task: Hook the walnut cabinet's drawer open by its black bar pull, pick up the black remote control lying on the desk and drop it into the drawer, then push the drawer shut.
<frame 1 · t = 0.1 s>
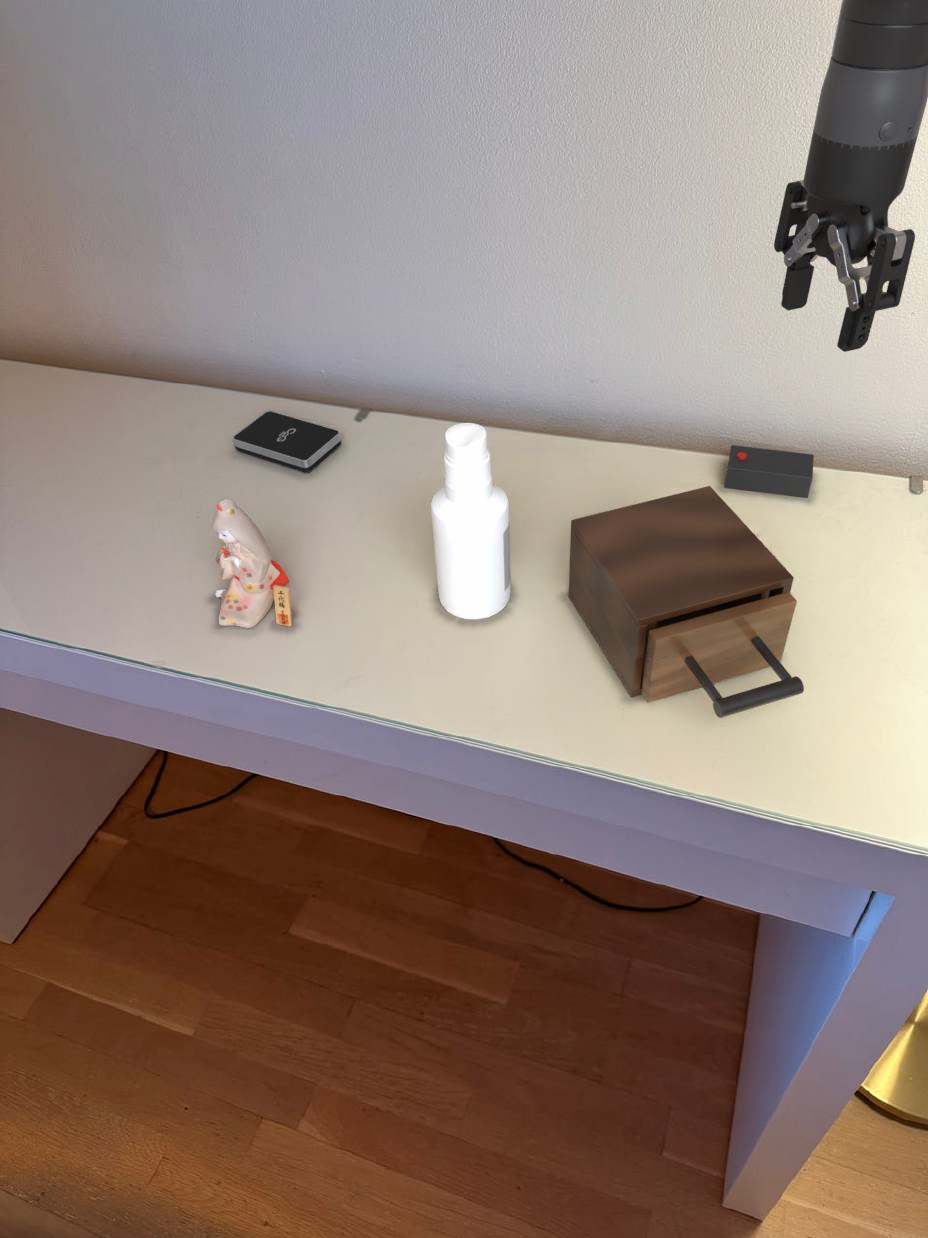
hand: (820, 327, 81), 20 cm above the table, tool pointing down, fingers open, 8 cm apart
remote: (766, 481, 99), on the table
figurine: (256, 610, 89), on the table
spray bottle: (474, 598, 88), on the table
external hard drive: (290, 451, 108), on the table
cabinet: (666, 625, 84), on the table
drawer: (702, 627, 77), point 5 cm above the table, slide at 0.5 cm
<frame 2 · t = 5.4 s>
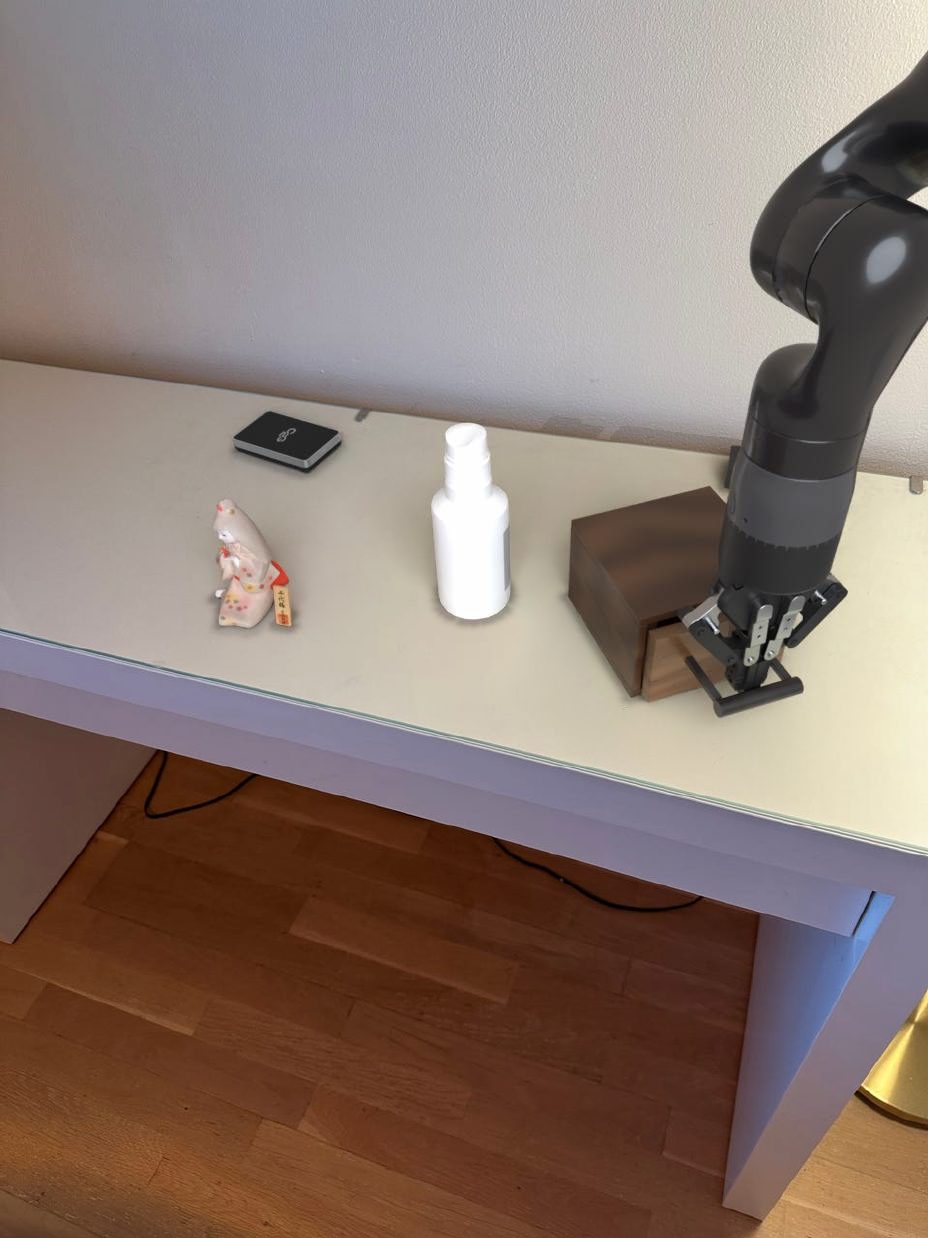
hand: (743, 685, 72), 4 cm above the table, tool pointing down, fingers closed
drawer: (702, 627, 77), point 5 cm above the table, slide at 0.5 cm, touching gripper
everything else where it was.
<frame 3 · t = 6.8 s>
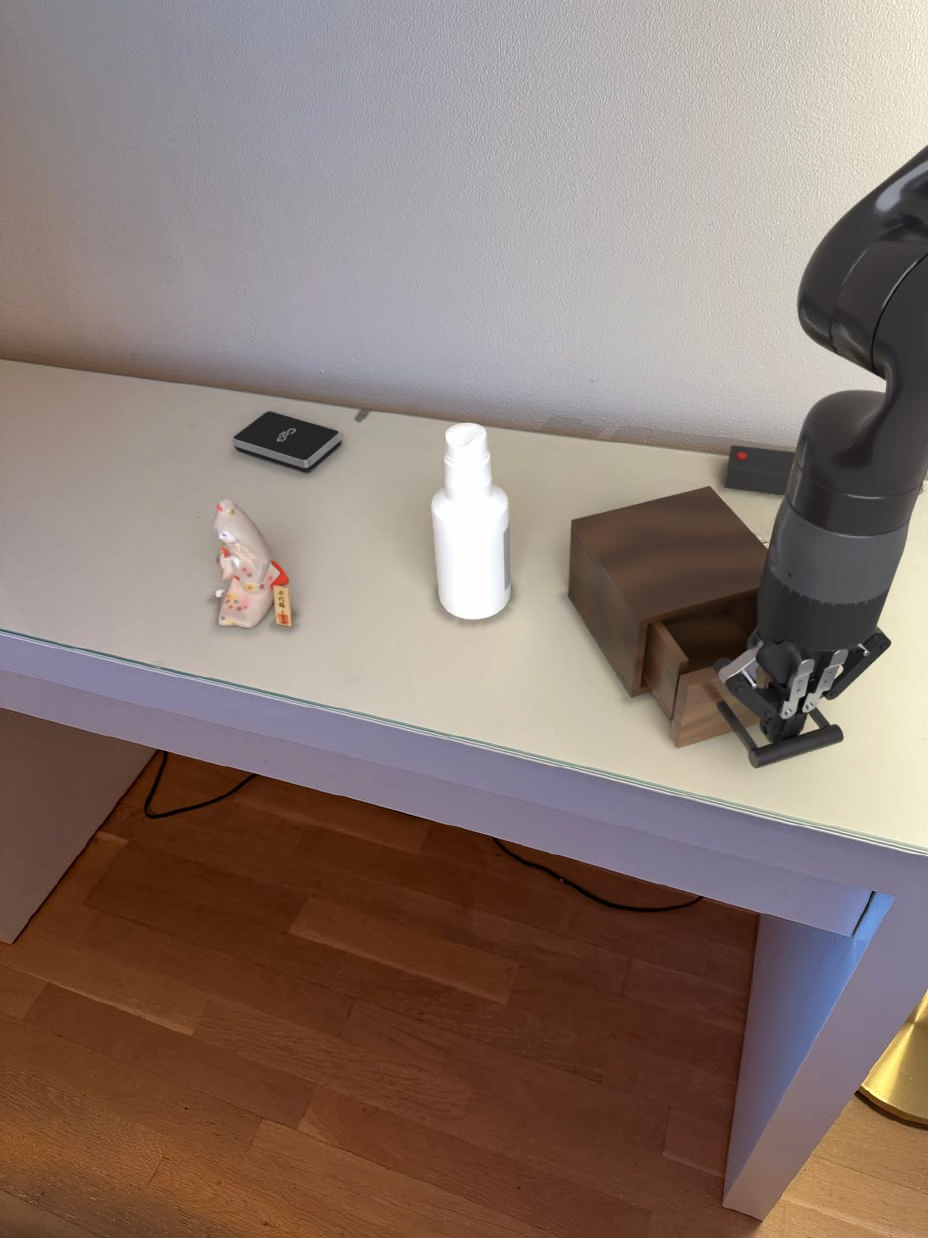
hand: (778, 736, 69), 4 cm above the table, tool pointing down, fingers closed
drawer: (733, 669, 74), point 5 cm above the table, slide at 5.6 cm, touching gripper
everything else where it was.
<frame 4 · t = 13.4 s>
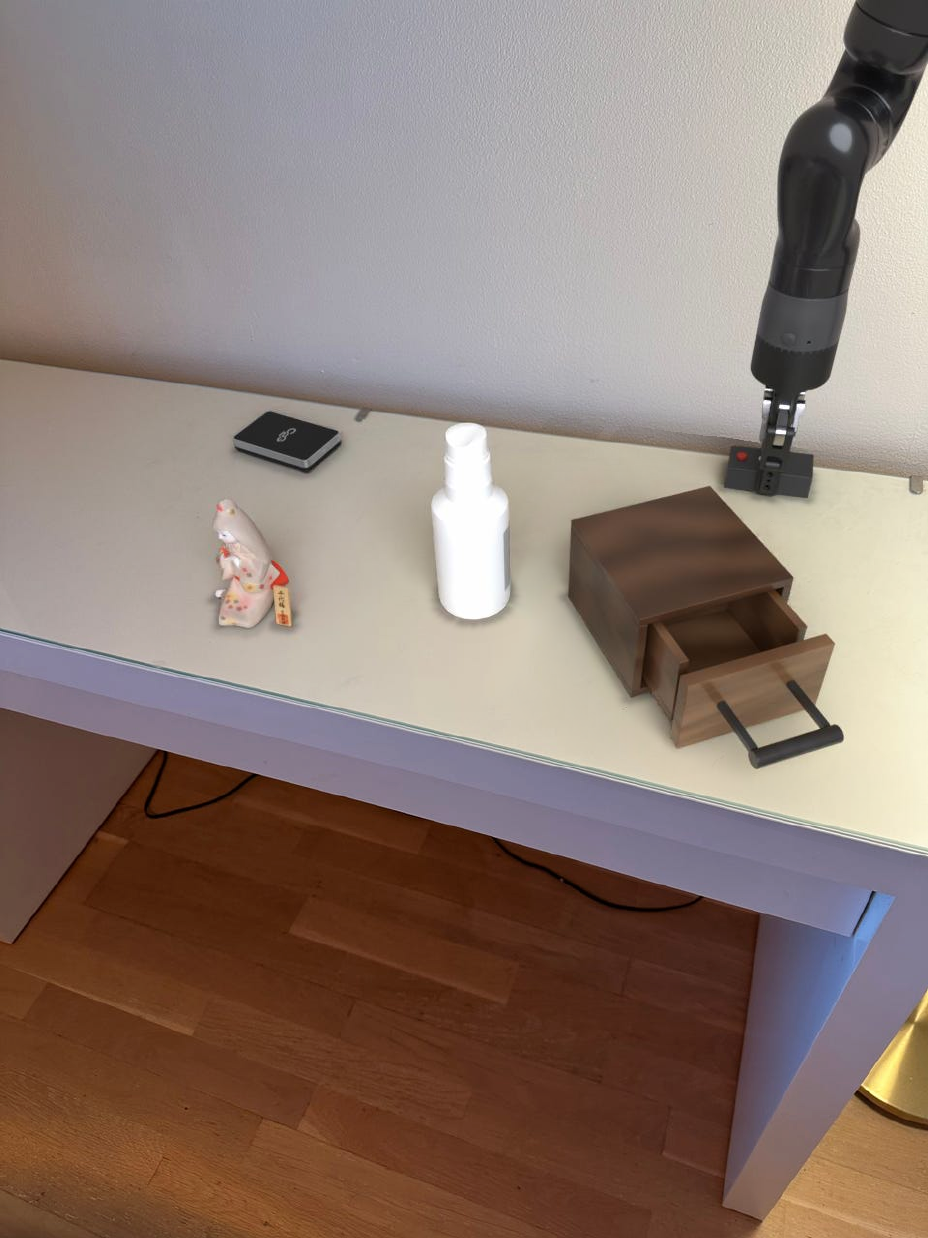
hand: (767, 478, 99), 0 cm above the table, tool pointing down, fingers closed on remote, 4 cm apart
remote: (766, 481, 99), on the table, touching gripper
drawer: (733, 669, 74), point 5 cm above the table, slide at 5.6 cm
everything else where it was.
when the fingers open (8 cm above the table, at t = 20.3 s): remote stays where it is, resting on drawer.
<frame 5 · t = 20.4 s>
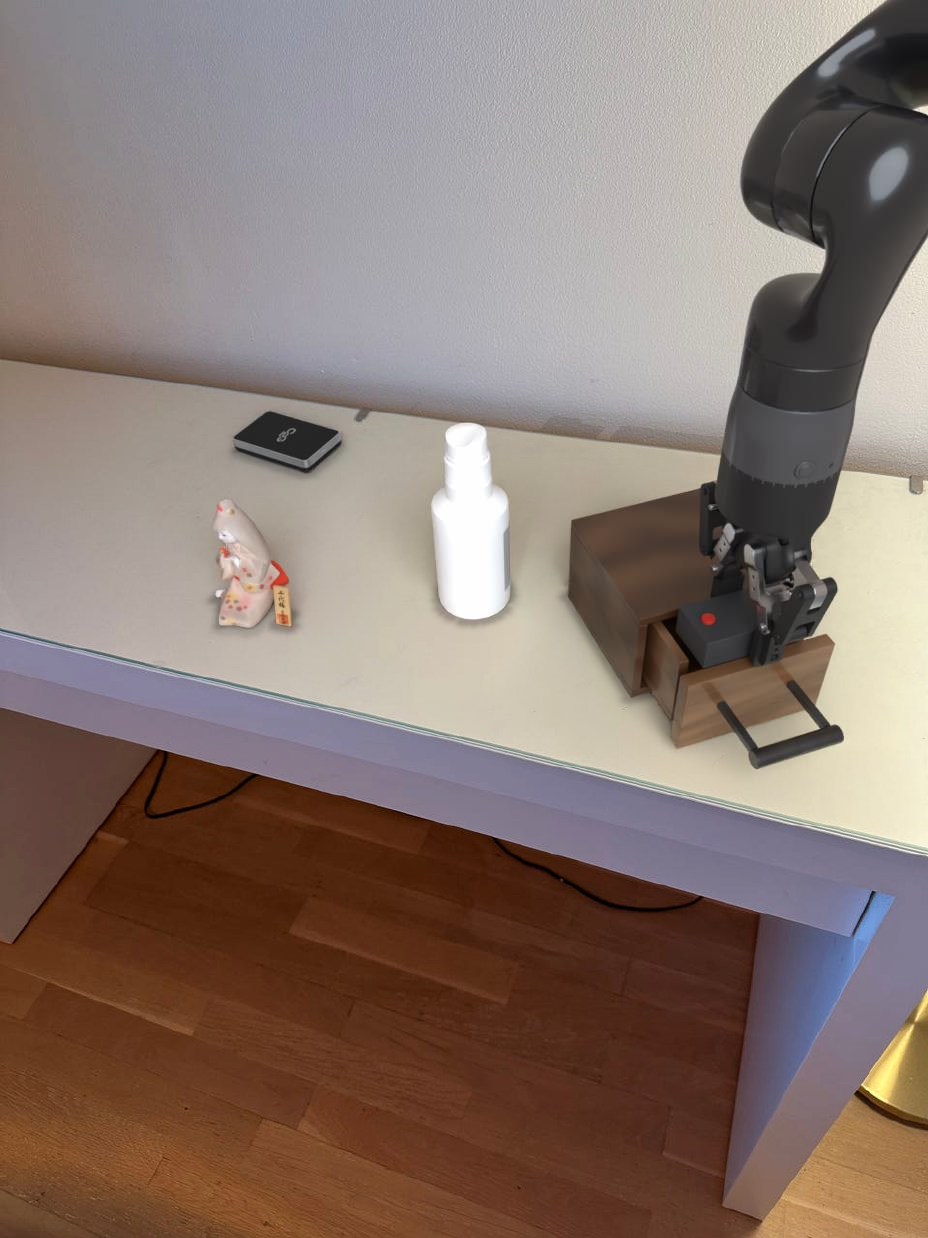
hand: (742, 635, 71), 8 cm above the table, tool pointing down, fingers open, 5 cm apart
remote: (738, 635, 71), point 8 cm above the table, touching drawer, gripper
drawer: (733, 669, 74), point 5 cm above the table, slide at 5.6 cm, touching remote
everything else where it was.
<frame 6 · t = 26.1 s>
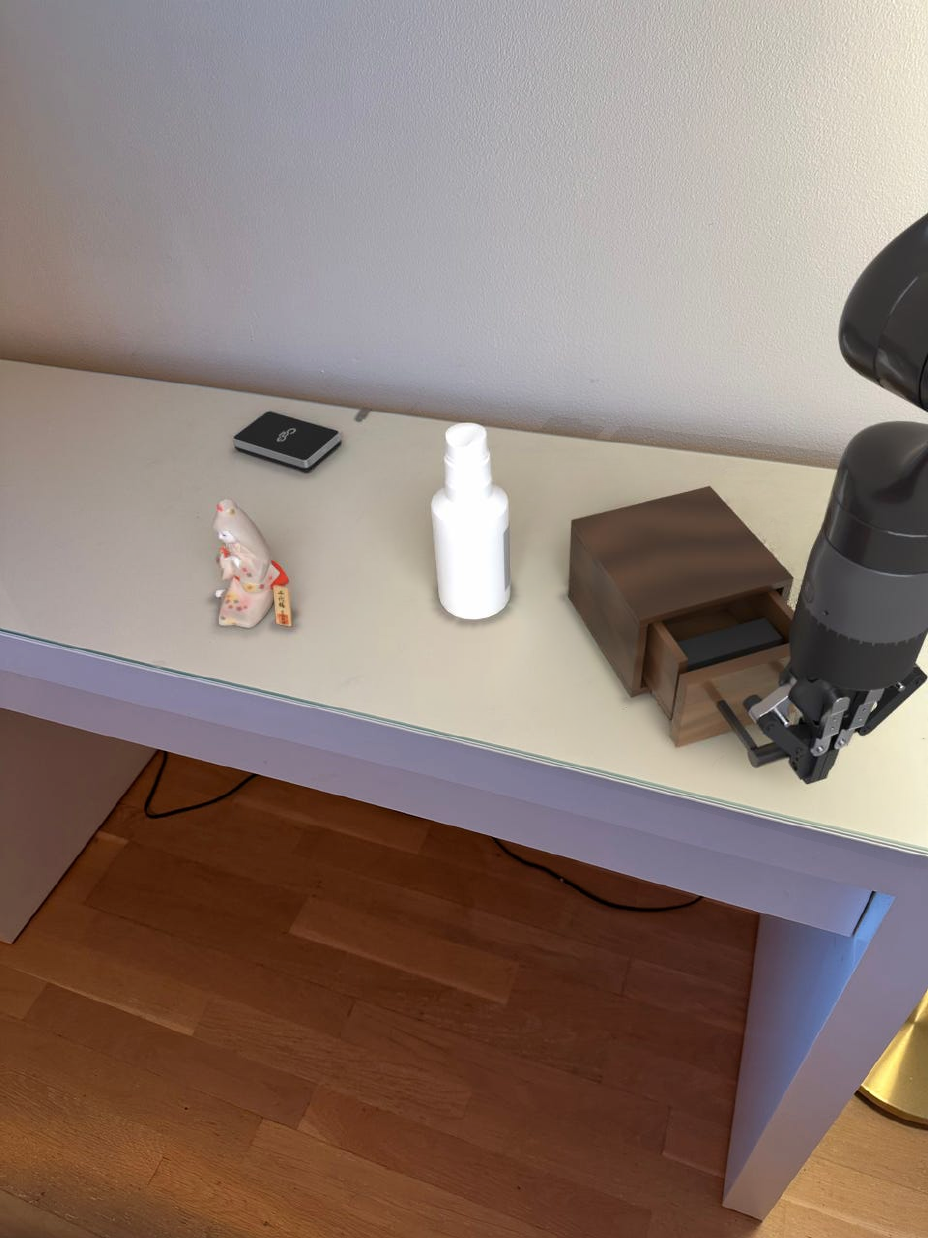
hand: (808, 772, 67), 4 cm above the table, tool pointing down, fingers closed
remote: (730, 670, 74), point 4 cm above the table, tilted 90°, touching drawer
drawer: (733, 668, 74), point 5 cm above the table, slide at 5.5 cm, touching gripper, remote
everything else where it was.
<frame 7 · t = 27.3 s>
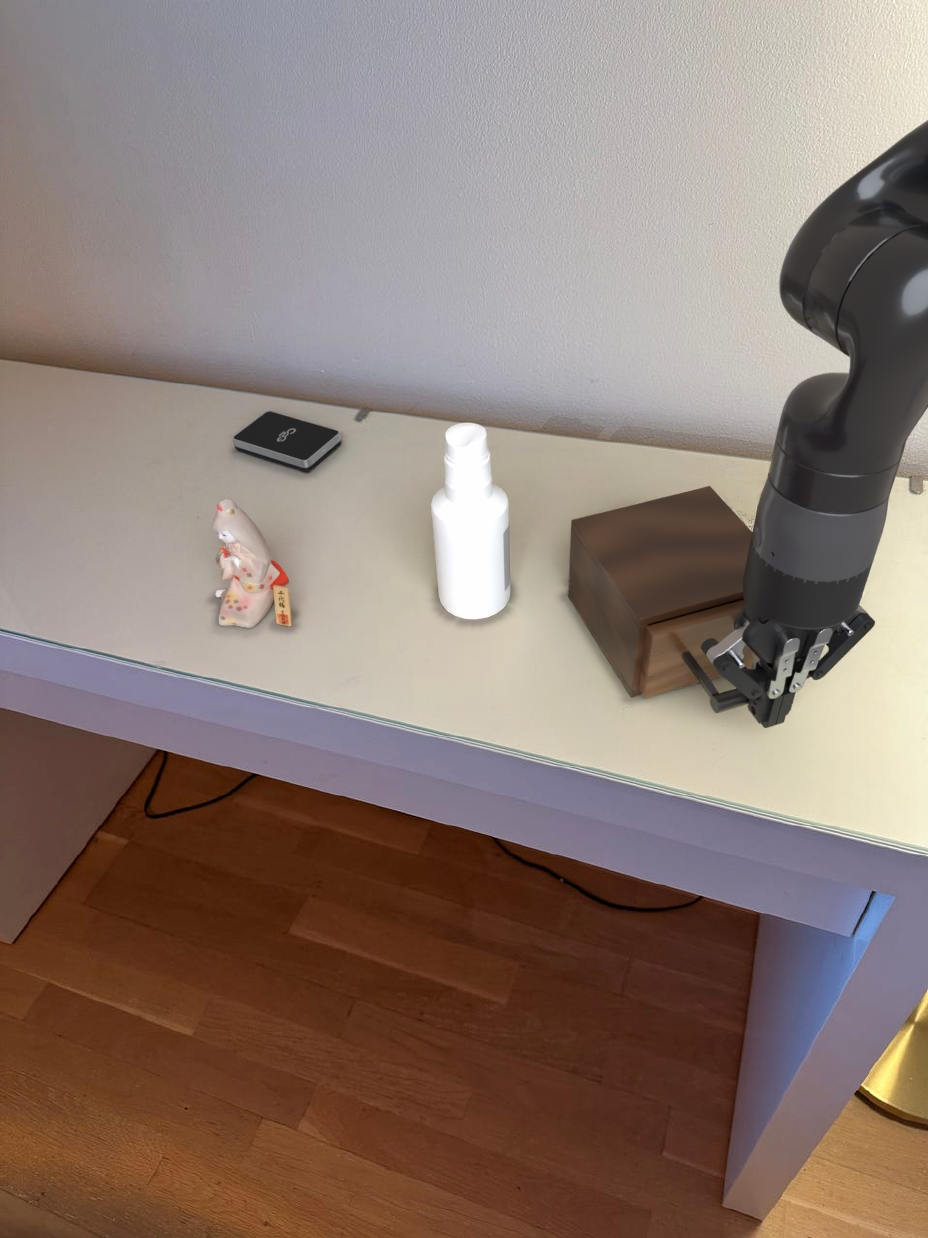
hand: (767, 717, 71), 4 cm above the table, tool pointing down, fingers closed
remote: (697, 625, 78), point 4 cm above the table, tilted 90°, touching drawer
drawer: (699, 623, 78), point 5 cm above the table, slide at 0.0 cm, touching cabinet, gripper, remote
everything else where it was.
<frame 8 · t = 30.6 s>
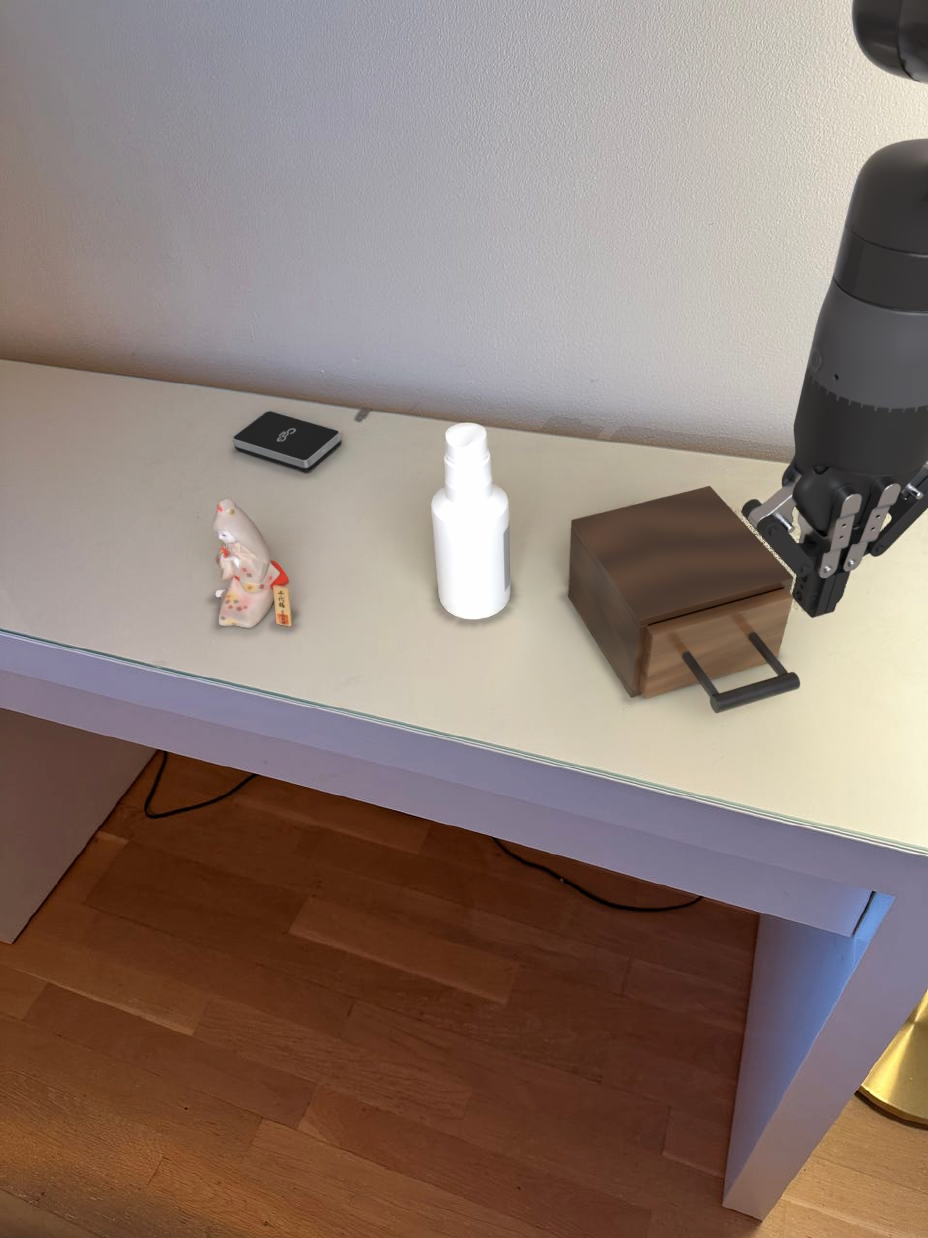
hand: (814, 606, 60), 17 cm above the table, tool pointing down, fingers closed
drawer: (699, 623, 78), point 5 cm above the table, slide at 0.0 cm, touching cabinet, remote
everything else where it was.
at the end: remote inside the target area in the cabinet (4.7 cm from its centre), point 4.2 cm above the cabinet's base; drawer slide at 0.0 cm; the gripper is holding nothing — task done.
